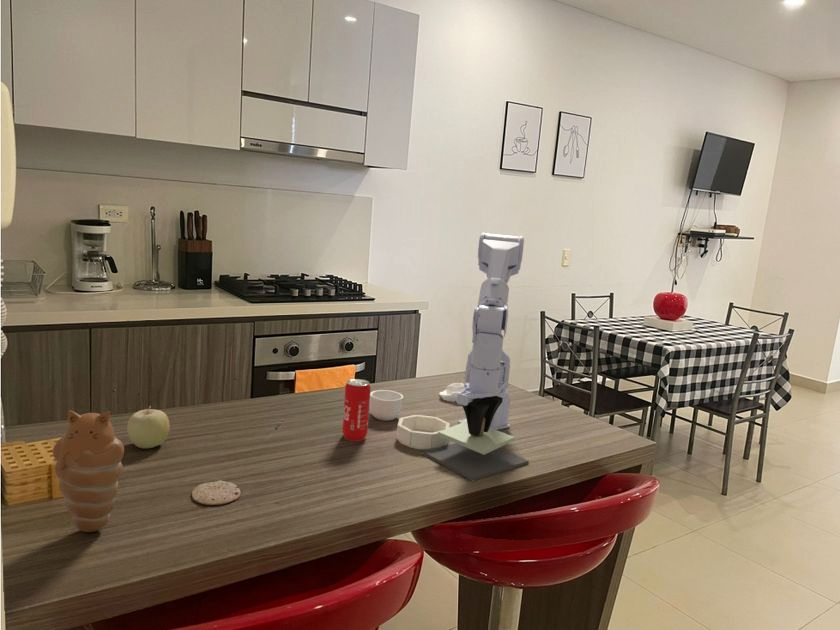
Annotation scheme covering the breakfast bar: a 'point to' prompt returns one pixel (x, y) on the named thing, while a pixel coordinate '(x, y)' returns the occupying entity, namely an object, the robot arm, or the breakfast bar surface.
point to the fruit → (148, 428)
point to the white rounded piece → (452, 391)
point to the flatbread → (216, 493)
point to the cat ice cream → (89, 469)
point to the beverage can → (356, 409)
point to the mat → (475, 460)
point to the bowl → (421, 432)
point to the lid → (476, 438)
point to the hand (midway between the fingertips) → (478, 432)
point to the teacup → (385, 404)
